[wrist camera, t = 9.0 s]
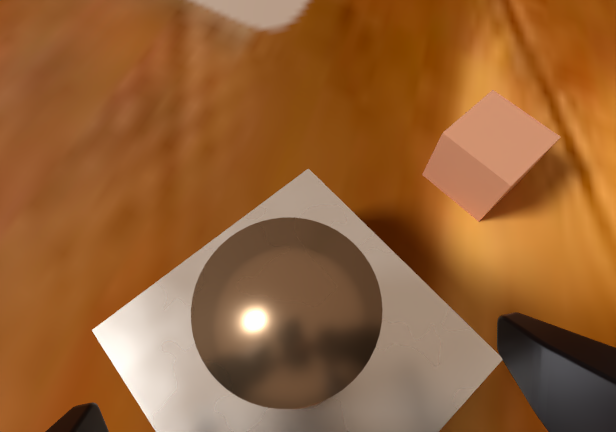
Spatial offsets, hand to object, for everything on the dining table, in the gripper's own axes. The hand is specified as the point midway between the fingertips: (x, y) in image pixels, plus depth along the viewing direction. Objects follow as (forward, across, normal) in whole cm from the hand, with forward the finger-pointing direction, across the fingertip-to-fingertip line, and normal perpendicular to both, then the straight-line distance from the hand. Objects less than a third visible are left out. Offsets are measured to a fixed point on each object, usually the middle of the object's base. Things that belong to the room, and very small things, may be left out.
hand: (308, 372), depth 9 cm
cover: (+8, 0, +6) cm, 10 cm away
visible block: (+14, -11, +1) cm, 18 cm away
